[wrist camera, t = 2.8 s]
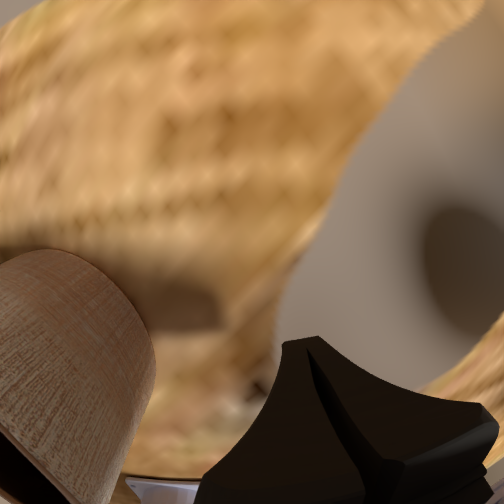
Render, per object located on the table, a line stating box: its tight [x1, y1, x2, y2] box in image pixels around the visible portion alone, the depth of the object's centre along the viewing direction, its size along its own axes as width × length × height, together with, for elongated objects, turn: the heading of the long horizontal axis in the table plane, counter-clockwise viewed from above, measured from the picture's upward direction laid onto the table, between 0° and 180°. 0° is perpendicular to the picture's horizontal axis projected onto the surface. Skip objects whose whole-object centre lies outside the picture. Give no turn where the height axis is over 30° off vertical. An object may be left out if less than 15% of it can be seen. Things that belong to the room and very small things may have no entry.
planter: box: [0, 249, 156, 504], centre depth 9 cm, size 11×11×10 cm
